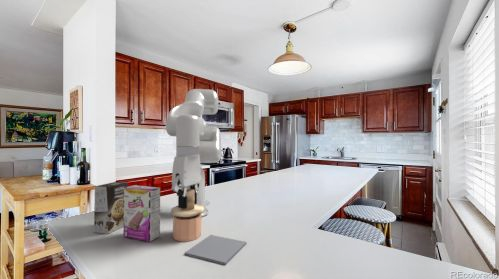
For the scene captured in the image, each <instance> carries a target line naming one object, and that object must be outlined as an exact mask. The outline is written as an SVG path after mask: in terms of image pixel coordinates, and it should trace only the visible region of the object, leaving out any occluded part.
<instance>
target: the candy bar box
mask: <svg viewBox="0 0 499 279" xmlns="http://www.w3.org/2000/svg"><path fill="white" fill-rule="evenodd" d="M160 236H161V187H155V186H146V185H137V184H135V185H134V184H133V185H130V186H129V185H128V187H125V188H124V227H123V238H128V239H132V240H138V241H143V242H147V243H150V242H153V241H154V240H156V239H158V238H159V237H160Z"/></svg>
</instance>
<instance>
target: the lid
mask: <svg viewBox="0 0 499 279" xmlns="http://www.w3.org/2000/svg"><path fill="white" fill-rule="evenodd" d="M181 190H182V189H181ZM182 191H183V190H182ZM186 196H187V208H186V209H183V208H179V207H178V205H175V206H173V207H172V208H171V209H170V214H171V215H172V216H177V217H190V216H196V215H199V214H201V213H203V211H204V207H203V206H202V205H199V204H194V201H195V190H193V189H187V191H186Z"/></svg>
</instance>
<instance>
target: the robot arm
mask: <svg viewBox="0 0 499 279" xmlns="http://www.w3.org/2000/svg"><path fill="white" fill-rule="evenodd" d="M218 110H219V96H218V94H217V92H216V91H215V90H214V89H208V88H207V89H203V88H193V89H191V90H188V91H187V93H186V95H185V99H184V102H182V103H181V104H179V105H176V106H174V107H173V108H171V110H170V111H169V112H168V116H167V117H166V120H165V121H166V122H165V131H166V133H167V134H168V135H169V136H170V137H173V138H174V137H175V138H176V139H175V140H176V141H175V143H176V147H175V156H174V158H173V164H172V170H171V171H172V172H171V185H172V186H171V190H172V191H173V192H174V193H175V194H176V196H177V197H178V198H177V200H178V201H177V204H178V205H177V206H178V207H179V208H183V209H186V208H187V196H186V191H187V189H193V190H195V201H194V204H199V205H202V206H203V207H204V211H203V213H201V214H202V218H203V217H205V216H207V215H208V214H209V209H208V208H206V207H207V206H208V205H210V203H211V202H210V200H206V198H205V197H206V196H205V194H206V192H205V191H206V190H205V189H206V177H205V176H206V175H205V174H206V173H205V171H204V169H203V167H202V166H201V165H202V164H215V163H218V162H220V161H221V158H222V136H221V131H220V128H219V127H217V126H216V125H215V126H214V125H207V122H206V120H205V119H204V118H203V117H201V116H203V115H210V116H211V115H216V114H217V113H218ZM182 190H183V191H182Z"/></svg>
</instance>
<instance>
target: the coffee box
mask: <svg viewBox="0 0 499 279" xmlns="http://www.w3.org/2000/svg"><path fill="white" fill-rule="evenodd" d="M125 187H129V182H127V181H126V182H125V181H113V182H108V183H104V184H98V185H95V186H94V211H93V212H94V214H93V219H94V220H93V233H95V234H96V233H97V234H106V235H107V234H112V233H113V232H115V231H118V230H120V229H122V228H124V188H125Z"/></svg>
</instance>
